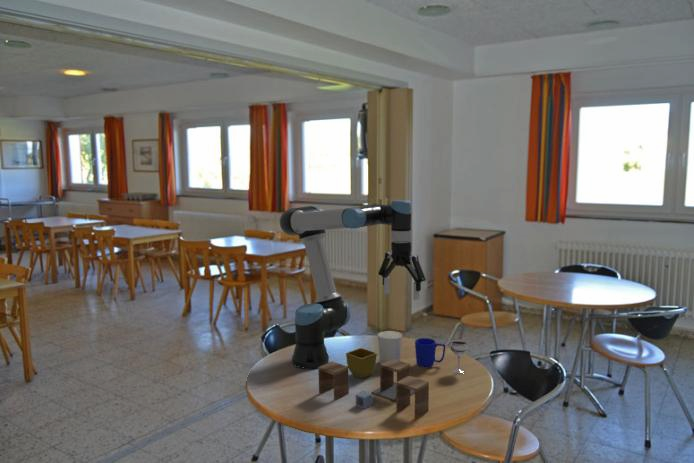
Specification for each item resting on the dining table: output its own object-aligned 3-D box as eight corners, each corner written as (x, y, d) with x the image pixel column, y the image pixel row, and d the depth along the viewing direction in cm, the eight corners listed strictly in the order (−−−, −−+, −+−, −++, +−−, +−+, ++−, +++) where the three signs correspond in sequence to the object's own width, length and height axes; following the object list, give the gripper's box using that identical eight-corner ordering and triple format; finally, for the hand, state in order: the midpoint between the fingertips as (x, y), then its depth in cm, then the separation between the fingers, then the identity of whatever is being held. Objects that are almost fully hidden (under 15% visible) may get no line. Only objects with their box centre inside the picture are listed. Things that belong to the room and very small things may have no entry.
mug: (444, 370, 211) (445, 345, 210) (414, 368, 214) (414, 344, 212) (445, 362, 219) (445, 339, 218) (415, 360, 222) (415, 337, 220)
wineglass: (471, 373, 208) (471, 343, 206) (455, 375, 206) (456, 345, 204) (461, 367, 214) (462, 338, 213) (446, 369, 212) (447, 340, 210)
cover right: (396, 411, 178) (396, 382, 177) (408, 403, 183) (408, 375, 182) (416, 418, 173) (416, 388, 171) (428, 410, 178) (428, 381, 176)
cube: (355, 405, 182) (355, 394, 182) (363, 401, 185) (363, 390, 185) (364, 409, 180) (364, 398, 179) (372, 405, 183) (372, 393, 182)
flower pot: (361, 369, 214) (361, 347, 213) (377, 375, 208) (377, 352, 207) (345, 375, 208) (345, 353, 207) (361, 381, 202) (361, 358, 200)
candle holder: (407, 364, 218) (407, 335, 217) (388, 369, 213) (388, 340, 211) (391, 356, 226) (391, 329, 225) (373, 362, 221) (373, 333, 219)
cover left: (318, 393, 192) (318, 367, 190) (332, 387, 197) (331, 361, 196) (335, 400, 186) (334, 372, 185) (348, 393, 192) (348, 366, 190)
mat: (371, 392, 192) (371, 391, 192) (391, 382, 201) (391, 381, 201) (398, 402, 184) (398, 401, 184) (418, 391, 193) (418, 390, 193)
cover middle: (380, 391, 192) (380, 364, 191) (392, 384, 197) (391, 358, 196) (398, 397, 187) (398, 369, 186) (410, 390, 192) (410, 364, 191)
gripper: (435, 243, 196) (434, 299, 199) (381, 237, 213) (381, 289, 216) (423, 245, 191) (423, 303, 194) (369, 239, 207) (369, 293, 210)
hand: (401, 296), depth 205 cm, fingers open, 13 cm apart
